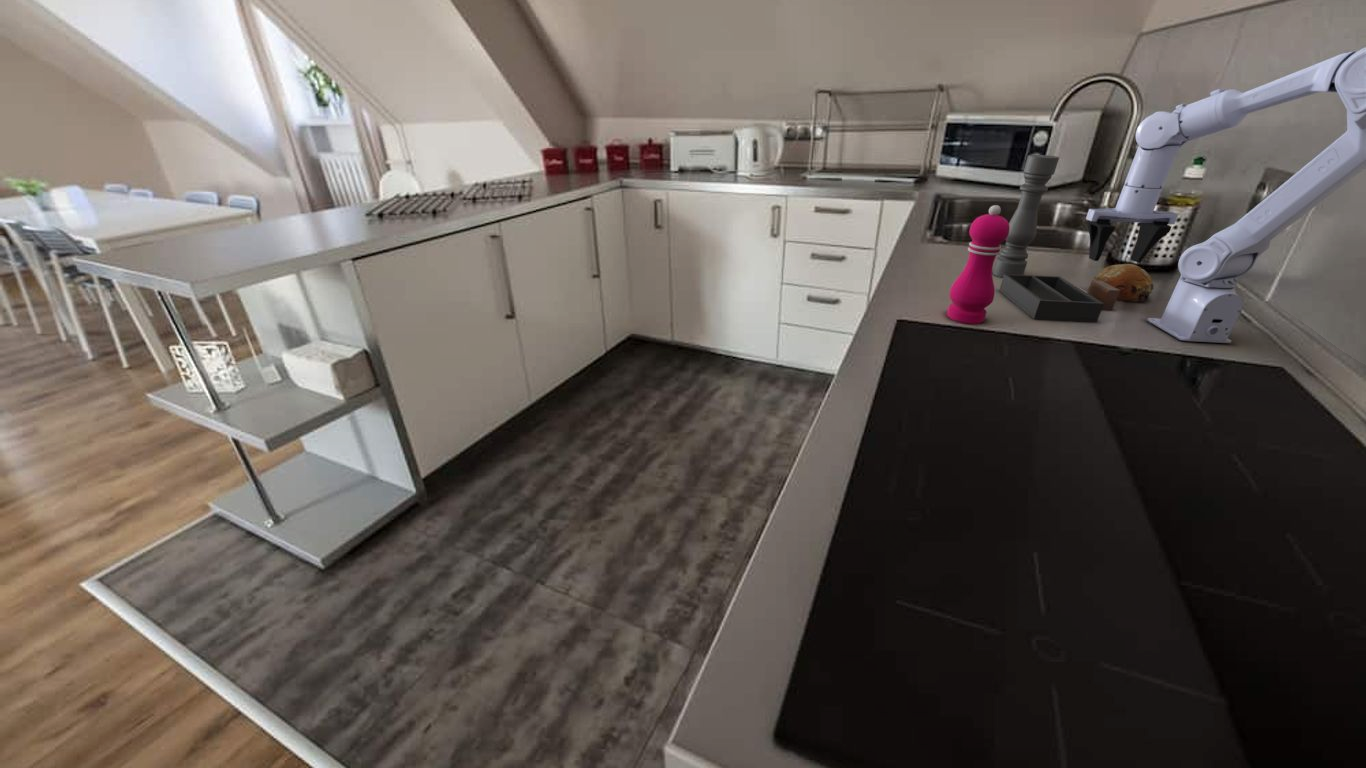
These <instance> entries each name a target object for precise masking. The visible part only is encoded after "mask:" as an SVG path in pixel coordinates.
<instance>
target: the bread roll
mask: <svg viewBox="0 0 1366 768" xmlns="http://www.w3.org/2000/svg"><path fill="white" fill-rule="evenodd" d="M1092 280H1098V281H1104V282H1106V283H1107V284H1109V285H1111V286H1113V287H1115V288H1116V289H1118V290H1120V292H1119V295H1118V297H1117V299H1116V301H1120V302H1131V303H1138V302H1143V301H1146V300H1147V299H1149V297H1150V295H1151V294H1153V290H1154V283H1153V280H1152V278H1151V275H1150V274H1149V273H1148V272H1147V271H1146V270H1145V269H1143V268H1141V267H1140V266H1138V265H1136V264H1132V263H1122V264H1112V265H1108V266H1107V267H1105V268H1103V269H1101V270H1100V271H1099V272H1098V273H1096V275H1094V277H1093V279H1092Z"/></svg>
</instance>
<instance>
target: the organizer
mask: <svg viewBox="0 0 1366 768" xmlns="http://www.w3.org/2000/svg"><path fill="white" fill-rule="evenodd" d="M1076 286H1077V285H1075V284H1073V283H1071V282H1070V281H1068V280H1066V279H1065V278H1063V277H1061V276H1057V275H1035V274H1034V275H1033V274H1024V275H1014V274H1004V276H1003V278H1002V279H1001V282H1000V286H999V289H998V291H999V292H1000V293H1001V294H1002V295H1004V296H1005V297H1006V298H1007V299H1009V300H1010V301H1011V302H1012V303H1013V304H1014V305H1016V306H1017V307H1018V308H1019V309H1021V311H1023V312H1024V313H1026V314H1027V315H1028V316H1029V317H1031V318H1032V319H1033V320H1044V321H1046V320H1047V321H1065V322H1083V323H1084V322H1086V323H1089V322H1090V323H1097V322H1098V320H1099V317H1100V315H1101V313H1102V311H1103V310H1102V308H1103V305H1104V303H1102V302H1101V301H1099V300H1097V299H1096V298H1094V297H1092V296H1091V295H1089V294H1088V293H1086V292H1084V291H1083V290H1084V289H1083V290H1081V289H1082V288H1081V289H1079V288H1078V287H1079V286H1078V287H1076Z"/></svg>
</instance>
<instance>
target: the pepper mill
mask: <svg viewBox="0 0 1366 768" xmlns="http://www.w3.org/2000/svg"><path fill="white" fill-rule="evenodd" d="M1001 212H1002V209H1001V207H1000V205H998V204H994V205H991V206H990V207H989V208H988V214H987V213H986V214H982V215H980V216H978V217H976V218H975V219H974V220H973V222H972V223H971V225H970V227H969V232H968V233H969V237H970V238H971V241H970V242H969V243H968V245H969V246H968V247H967V251H968V252H969V254H968V259H967V262H966V264H965V266H964V268H963V270H962V272H961V273H959V275H958V277H957V278H956V279H955V280H954V281H953V283H952V285H951V288H950V290H949V299H950V300H951V302H952V303H951V304H949V306H948V309H947V312H946V316H947V317H948V318H949V319H951V320H953V321H955V322H958V323H961V324H969V325H975V324H977V325H978V324H982V323H983V322H984V321H985V318H986V315H987V310H986V308H987V307H988V306H990V305H991V304H992V303H993V301H994V299H995V294H996V293H995V292H996V291H995V283H994V278H993V268H994V264H995V261H996V258H997V256H998V255H999V254H1000V251H1001V250H1002V245H1001V244H1002V243H1003V242H1004V241H1006V240H1005V239H1006V238H1007V237H1008V234H1009V230H1010V226H1009V221H1008V220H1007V219H1006V218H1005V217H1003V216H1001V215H1000V214H1001Z"/></svg>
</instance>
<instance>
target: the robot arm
mask: <svg viewBox="0 0 1366 768" xmlns="http://www.w3.org/2000/svg"><path fill="white" fill-rule="evenodd" d="M1319 93H1337V94H1338V96H1339V98H1340V100H1341V101H1342V104H1343V105H1344V108H1345V109H1346V131H1345V132H1344V133H1342V135H1340V137H1338V138H1337V139H1336V140H1334V141H1333V142H1332V143H1331V144H1330V145H1328V146H1326V147H1325V149H1324V150H1323V151H1321V152H1320V153H1319V154H1317V155H1316V156H1315V157H1314V158H1312V160H1310V161H1309V162H1308V163H1307V164H1305V165H1304V166H1303V167H1302V168H1301V169H1299V170H1298V171H1297V172H1296V173H1294V174H1293V175H1292V176H1291V177H1290V178H1288V179H1287V180H1285V182H1284V183H1282V184H1281V185H1279V186H1278V188H1276V189H1275V190H1274V191H1273V192H1271V193H1270V194H1269V195H1268V196H1267V197H1265V198H1264V199H1263V200H1262V201H1260V202H1259V203H1258V204H1257V205H1255V206H1254V207H1253V208H1252V209H1250V210H1249V211H1248V212H1247V213H1246V214H1245V215H1244V216H1242V217H1241V218H1240V219H1239V220H1238V221H1236V222H1235V223H1233V224H1231V225H1229V226H1228V227H1225V228H1224V229H1222V230H1220V231H1218V232H1215V234H1213V235H1211V237H1210V238H1208V239H1207V240H1205V241H1202V242H1201V243H1197V244H1194V245H1191V246H1189V248H1187V249H1186V250H1184V251H1183V252H1182V253H1181V254H1180V255H1181V256H1180V257H1179V259H1178V263H1177V268H1178V271H1179V273H1180V277H1179V279H1178V281H1177V283H1176V285H1175V288H1174V290H1173V292H1172V294H1171V296H1170V299H1169V301H1168V303H1167V305H1166V307H1165V309H1164V310H1163V311H1164V312H1163V314H1162V316H1161V318H1158V317H1157V318H1155V317H1148V318H1147V320H1146V321H1147V322H1148V323H1150V324H1152V325H1154V326H1156V327H1157V328H1158V329H1161V330H1162V331H1164V332H1166V333H1167V334H1168V335H1171V336H1173V337H1174V338H1175V339H1177V340H1180V341H1182V342H1196V343H1197V342H1199V343H1216V344H1217V343H1218V344H1231V343H1232V340H1231V339H1230V338H1229V336H1230V335H1231V332H1232V331H1233V329H1234V327H1235V324H1236V323H1237V321H1238V319H1239V317H1240V315H1241V313H1242V312H1243V310H1244V300H1243V298H1242V297H1241V296H1240V295H1239V294H1237V292H1236V286H1237V284H1238V279H1239V277H1241V276H1243V275H1245V274H1246V273H1248V272H1250V271H1251V270H1252V269H1253V268H1254V266H1255V265H1256V262H1257V260H1258V258H1259V257H1260V256H1261V255H1262V254H1263V253H1265V252H1266V251H1267V250H1269V248H1270V245H1271V241H1272V240H1273V239H1274V238H1276V237H1277V236H1279V235H1280V234H1281V233H1282V232H1284V231H1285V230H1287V228H1290V226H1291V225H1293V224H1294V223H1296V222H1297V221H1298V220H1299V219H1301V218H1302V217H1303V216H1304V215H1306V214H1308V213H1309V212H1310V211H1311V210H1313V209H1314V208H1315V207H1317V206H1318V205H1319V204H1321V203H1322V202H1323V201H1324V200H1326V199H1327V198H1328V197H1330V196H1331V195H1332V194H1333V193H1335V192H1336V191H1338V190H1339V189H1341V188H1342V187H1343V186H1344V185H1345V184H1347V183H1348V182H1350V181H1351V180H1352V179H1353V178H1355V177H1356V176H1357V175H1359V174H1361V172H1363V171H1365V169H1366V46H1365V47H1363V48H1361V49H1359V50H1357V51H1355V50H1352V51H1348V52H1345V53H1340V54H1338V55H1335V56H1333V57H1330V58H1328V59H1326V60H1322V61H1320V62H1318V63H1315V64H1313V65H1310V66H1308V67H1304V68H1302V69H1300V70H1297V71H1295V72H1292V73H1290V74H1288V75H1285V76H1282V77H1280V78H1277V79H1275V80H1272V81H1270V82H1267V83H1265V84H1262V85H1260V86H1257V87H1254V88H1252V89H1250V90H1247V91H1244V92H1242V91H1239V90H1237V89H1233V88H1229V89H1227V90H1226V89H1225V88H1218V89H1214V90H1213V91H1211V92H1210V93H1209V94H1210V95H1209V96H1208V97H1205V98H1202V99H1200V100H1197V101H1194V102H1192V103H1189V104H1187V103H1181V104H1179V105H1176V106H1175V109H1174V110H1173V111H1172V112H1170V111H1169V112H1168V111H1155V112H1154V113H1152V114H1150V115H1149V116H1147V117H1145V118H1144V119H1143V120H1142V121H1141V122H1140V123H1139V125H1138V126H1137V128H1136V131H1135V141H1136V144H1137V145H1138V147H1137V149H1136V152H1135V154H1134V156H1133V160H1132V162H1131V165H1130V168H1129V170H1128V173H1127V175H1126V178H1125V181H1124V184H1123V186H1122V189H1121V191H1120V194H1119V197H1118V199H1117V201H1116V202H1117V203H1116V205H1115V207H1112V208H1089V209H1088V211H1087V215H1086V217H1085V220H1086V226H1087V229H1088V235H1089V255H1088V259H1089V260H1092V261H1094V262H1099V260H1100V259H1101V257H1102V255H1103V251H1104V249H1105V247H1106V244H1107V242H1108V241H1109V238H1110V237H1111V235H1112V234H1113V232H1114V231H1115V229H1116V226H1114V225H1112V222H1118V223H1122V222H1123V223H1139V229H1138V234H1137V239H1136V242H1135V245H1134V247H1133V250H1132V252H1131V254H1130V255H1131V256H1130V261H1133V262H1135V263H1137V264H1141V262H1142V261H1143V259H1145V257H1146V256H1147V254H1148V253H1149V252H1150V251H1151V249H1152V248H1154V246H1155V245H1156V244H1157V243H1158V242H1159V241H1160V240H1162V238H1164V237H1165V236H1166V235H1167V234H1169V233H1170V232H1171V230H1172V226H1171V225H1175V224H1176V221H1177V219H1178V217H1179V214H1180V213H1177V212H1174V211H1164V210H1155V209H1156V206H1157V203H1158V202H1159V199H1160V197H1161V194H1162V192H1163V189H1164V186H1165V184H1166V181H1167V179H1168V177H1169V174H1170V171H1171V170H1172V167H1173V164H1174V161H1176V160H1175V159H1176V157H1177V156H1178V154H1179V151H1180V150H1181V148H1182V147H1183V146H1184V145H1186V144H1187V143H1188V142H1190V141H1193V140H1196V139H1200V138H1202V137H1203V138H1204V137H1205V136H1209V135H1212V134H1215V133H1218V132H1221V131H1225V130H1227V129H1230V128H1234V127H1237V126H1238V125H1240V124H1241V122H1243V120H1244V119H1245V118H1246V117H1247V116H1248V114H1250V113H1254V112H1257V111H1261V110H1264V109H1267V108H1271V107H1275V106H1277V105H1281V104H1285V103H1287V102H1288V103H1289V102H1291V101H1294V100H1298V99H1301V98H1304V97H1308V96H1311V95H1315V94H1319Z"/></svg>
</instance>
